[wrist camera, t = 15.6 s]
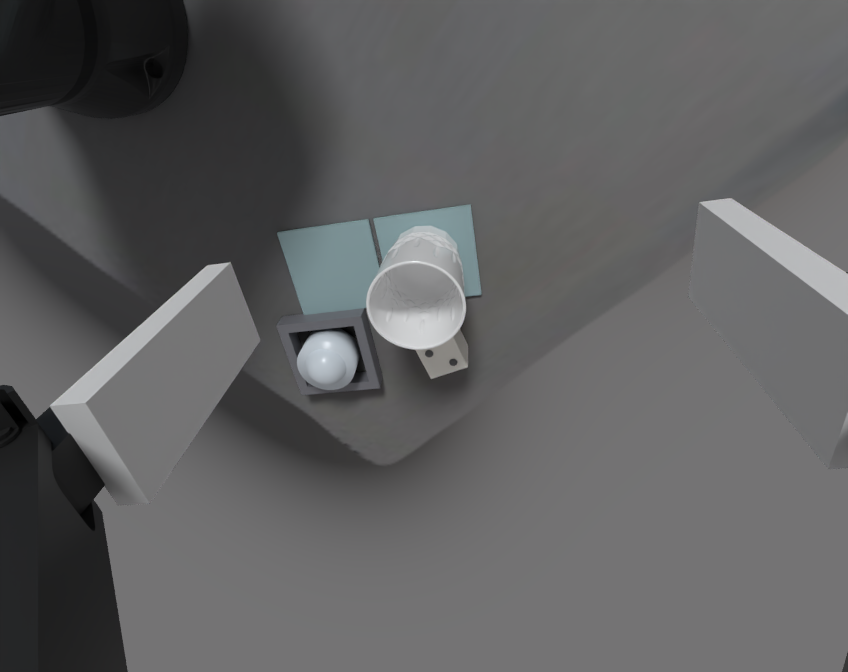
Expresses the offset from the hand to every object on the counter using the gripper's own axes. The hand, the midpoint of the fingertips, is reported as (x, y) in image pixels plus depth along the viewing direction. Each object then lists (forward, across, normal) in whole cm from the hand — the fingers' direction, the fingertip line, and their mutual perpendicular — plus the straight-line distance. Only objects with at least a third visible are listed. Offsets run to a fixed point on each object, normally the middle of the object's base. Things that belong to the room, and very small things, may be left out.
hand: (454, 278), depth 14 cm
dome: (+31, -17, -21) cm, 41 cm away
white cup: (+32, -5, -12) cm, 34 cm away
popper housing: (+32, -17, -21) cm, 42 cm away
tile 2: (+32, -5, -12) cm, 34 cm away
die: (+32, -5, -21) cm, 38 cm away
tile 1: (+32, -14, -12) cm, 37 cm away
